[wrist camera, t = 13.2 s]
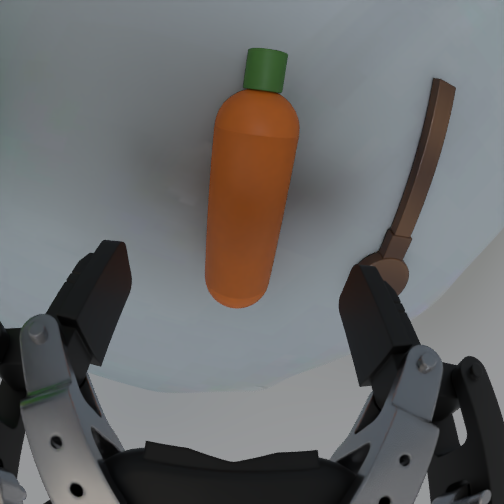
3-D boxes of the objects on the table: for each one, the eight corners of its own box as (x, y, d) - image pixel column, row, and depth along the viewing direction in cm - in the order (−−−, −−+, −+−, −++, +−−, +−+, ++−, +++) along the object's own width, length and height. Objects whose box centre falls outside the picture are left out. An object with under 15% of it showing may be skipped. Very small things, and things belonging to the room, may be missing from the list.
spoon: (411, 67, 11) (420, 67, 10) (465, 96, 11) (475, 98, 11) (341, 296, 21) (343, 305, 20) (389, 299, 21) (393, 307, 21)
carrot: (225, 51, 11) (222, 40, 8) (301, 61, 12) (323, 56, 8) (206, 277, 20) (202, 319, 16) (261, 281, 20) (267, 322, 17)
